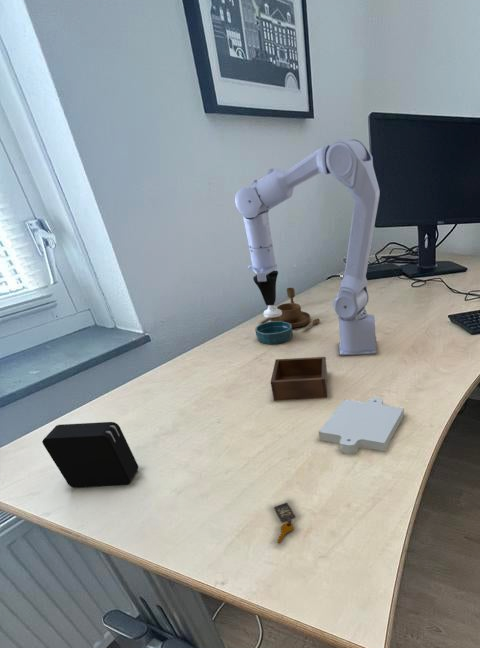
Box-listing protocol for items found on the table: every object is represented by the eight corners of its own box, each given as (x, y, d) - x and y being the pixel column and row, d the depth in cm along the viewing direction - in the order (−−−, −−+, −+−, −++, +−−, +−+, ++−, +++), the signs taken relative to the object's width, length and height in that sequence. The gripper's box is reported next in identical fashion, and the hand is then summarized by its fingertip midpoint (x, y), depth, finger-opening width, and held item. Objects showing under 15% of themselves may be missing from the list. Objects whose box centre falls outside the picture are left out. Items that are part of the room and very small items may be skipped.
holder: (327, 374, 104) (325, 356, 102) (327, 397, 96) (325, 378, 93) (278, 377, 104) (275, 359, 101) (274, 400, 95) (270, 382, 92)
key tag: (274, 505, 68) (273, 502, 68) (293, 502, 69) (292, 499, 69) (277, 543, 62) (276, 540, 62) (298, 539, 63) (297, 536, 62)
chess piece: (277, 318, 114) (270, 277, 107) (260, 317, 115) (252, 276, 108) (284, 311, 118) (278, 272, 111) (268, 310, 118) (260, 271, 112)
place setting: (255, 325, 130) (250, 305, 127) (290, 305, 145) (287, 286, 141) (305, 333, 125) (302, 312, 121) (336, 311, 139) (335, 292, 136)
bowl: (294, 330, 127) (292, 320, 125) (292, 343, 119) (290, 333, 117) (259, 332, 126) (257, 322, 124) (255, 345, 119) (253, 334, 117)
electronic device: (81, 473, 76) (53, 424, 69) (140, 469, 76) (117, 421, 70) (70, 488, 73) (39, 439, 66) (131, 484, 73) (106, 435, 67)
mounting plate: (380, 459, 78) (379, 450, 76) (314, 447, 81) (313, 438, 80) (406, 410, 91) (407, 402, 90) (349, 401, 94) (348, 393, 93)
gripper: (248, 240, 111) (259, 295, 120) (239, 253, 100) (251, 313, 108) (276, 239, 111) (284, 294, 120) (270, 252, 100) (280, 311, 109)
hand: (270, 303), depth 114 cm, fingers closed on chess piece
